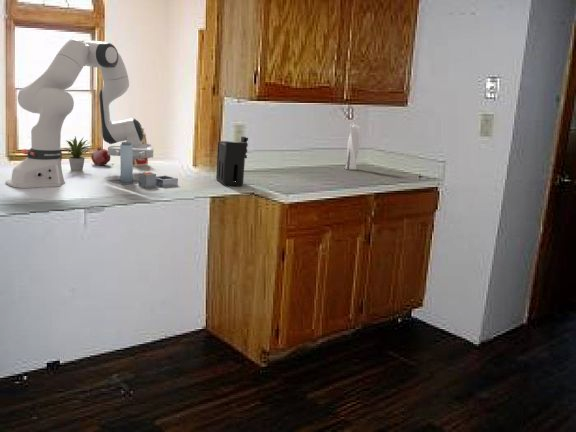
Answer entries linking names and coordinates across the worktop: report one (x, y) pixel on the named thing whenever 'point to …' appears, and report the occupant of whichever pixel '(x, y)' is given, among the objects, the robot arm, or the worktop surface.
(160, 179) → the filter head
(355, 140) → the skyscraper
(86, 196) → the worktop surface
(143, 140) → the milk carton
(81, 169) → the house plant
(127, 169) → the block
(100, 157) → the fruit
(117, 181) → the mat
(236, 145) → the black machined bracket
